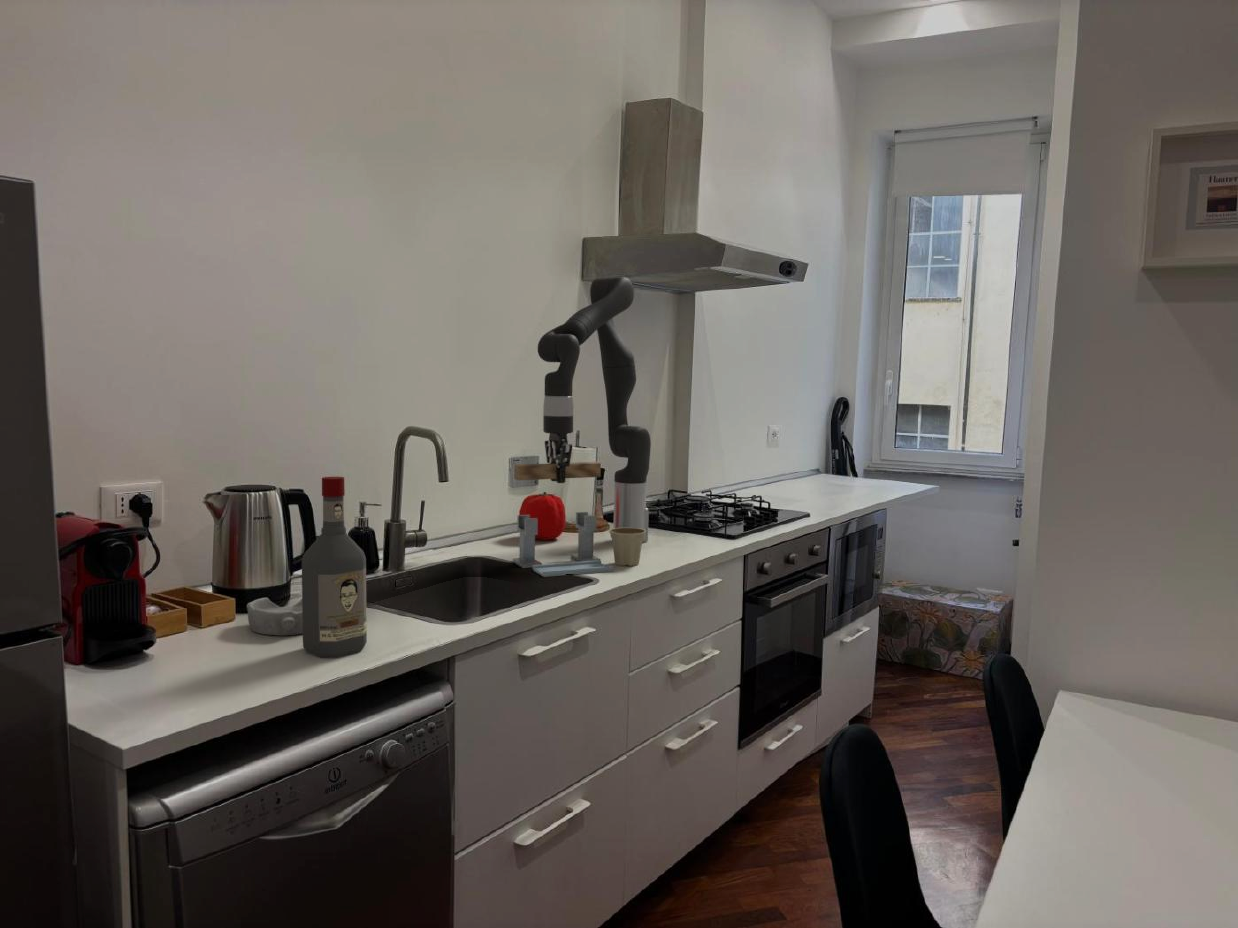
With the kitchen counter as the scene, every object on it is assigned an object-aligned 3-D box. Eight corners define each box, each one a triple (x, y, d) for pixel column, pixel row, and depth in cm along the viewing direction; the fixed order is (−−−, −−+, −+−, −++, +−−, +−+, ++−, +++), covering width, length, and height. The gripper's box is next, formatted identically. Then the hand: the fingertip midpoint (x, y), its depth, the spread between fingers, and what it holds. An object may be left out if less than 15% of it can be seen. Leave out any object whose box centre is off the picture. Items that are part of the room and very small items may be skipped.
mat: (599, 564, 232) (599, 560, 232) (612, 571, 225) (613, 566, 225) (532, 570, 225) (532, 565, 225) (543, 576, 217) (543, 571, 217)
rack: (588, 556, 243) (589, 511, 242) (600, 562, 236) (601, 515, 234) (512, 561, 234) (512, 515, 233) (522, 567, 227) (523, 520, 226)
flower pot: (602, 565, 232) (603, 531, 231) (616, 558, 240) (616, 526, 239) (637, 569, 228) (638, 534, 227) (650, 562, 237) (650, 529, 236)
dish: (237, 626, 173) (237, 600, 172) (309, 614, 182) (309, 589, 182) (267, 644, 162) (266, 616, 162) (341, 630, 171) (341, 604, 171)
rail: (595, 475, 239) (595, 461, 238) (600, 476, 236) (600, 463, 235) (514, 478, 230) (514, 464, 229) (518, 480, 226) (518, 466, 226)
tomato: (560, 544, 258) (560, 496, 257) (512, 542, 260) (513, 494, 259) (572, 534, 274) (572, 489, 272) (527, 532, 276) (527, 487, 274)
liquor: (297, 649, 159) (294, 477, 156) (344, 638, 166) (342, 473, 163) (325, 661, 153) (323, 482, 150) (372, 649, 160) (371, 478, 157)
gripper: (582, 415, 226) (582, 484, 228) (562, 412, 239) (561, 478, 241) (554, 415, 223) (553, 486, 225) (534, 412, 236) (534, 479, 237)
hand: (557, 481), depth 233 cm, fingers closed on rail, 3 cm apart
